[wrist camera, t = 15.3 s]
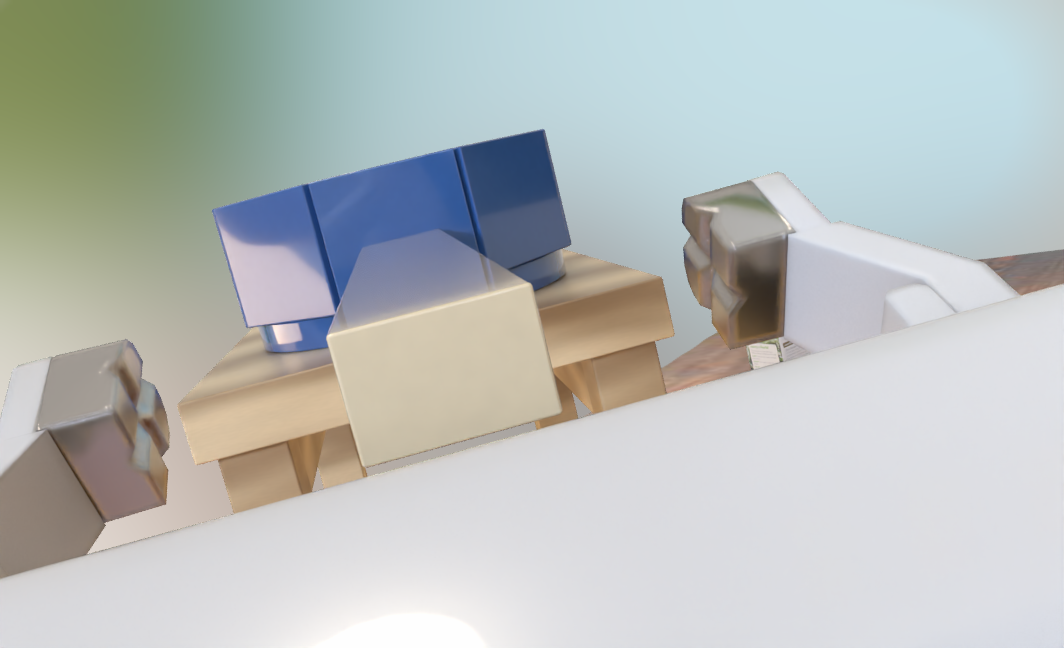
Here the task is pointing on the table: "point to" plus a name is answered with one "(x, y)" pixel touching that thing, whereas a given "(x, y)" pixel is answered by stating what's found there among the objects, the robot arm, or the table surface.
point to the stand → (319, 411)
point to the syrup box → (773, 352)
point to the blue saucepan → (413, 288)
